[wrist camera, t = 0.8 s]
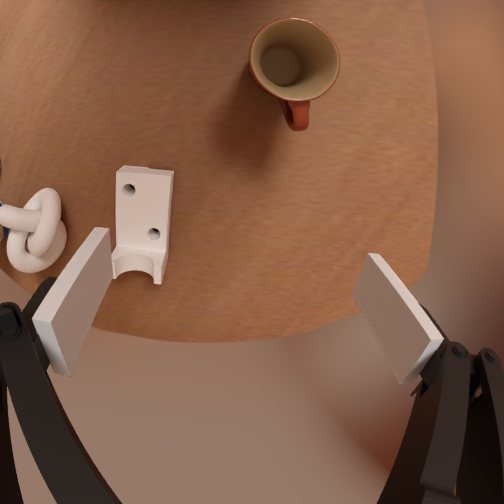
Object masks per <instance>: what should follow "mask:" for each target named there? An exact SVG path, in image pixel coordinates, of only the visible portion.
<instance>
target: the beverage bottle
mask: <svg viewBox="0 0 504 504" xmlns="http://www.w3.org/2000/svg"><path fill="white" fill-rule="evenodd" d="M2 205H4V204H3V203H2V202H1V201H0V207H1V206H2ZM9 230H10V228H7V227H4V226H2V225H1V224H0V242H1V241H3V240H4V239H5V238H6V237H7V235H8V233H9Z"/></svg>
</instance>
